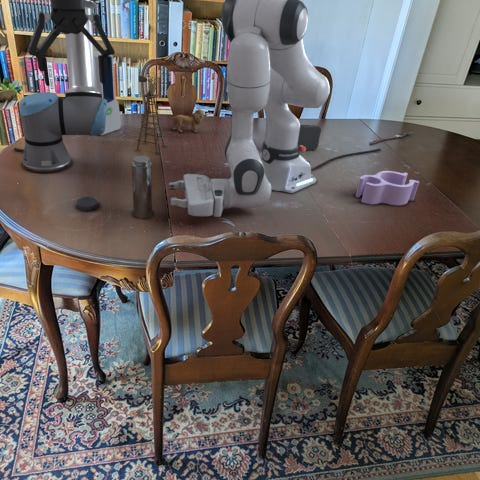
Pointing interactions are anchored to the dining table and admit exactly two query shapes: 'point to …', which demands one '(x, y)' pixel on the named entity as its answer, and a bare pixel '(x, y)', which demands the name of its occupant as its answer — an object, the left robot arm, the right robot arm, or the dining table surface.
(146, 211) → the jar
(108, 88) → the electronic device
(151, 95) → the miniature windmill
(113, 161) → the dining table surface
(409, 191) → the clip
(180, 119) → the lion figurine
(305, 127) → the handheld gaming console
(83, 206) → the lid
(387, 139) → the sword
